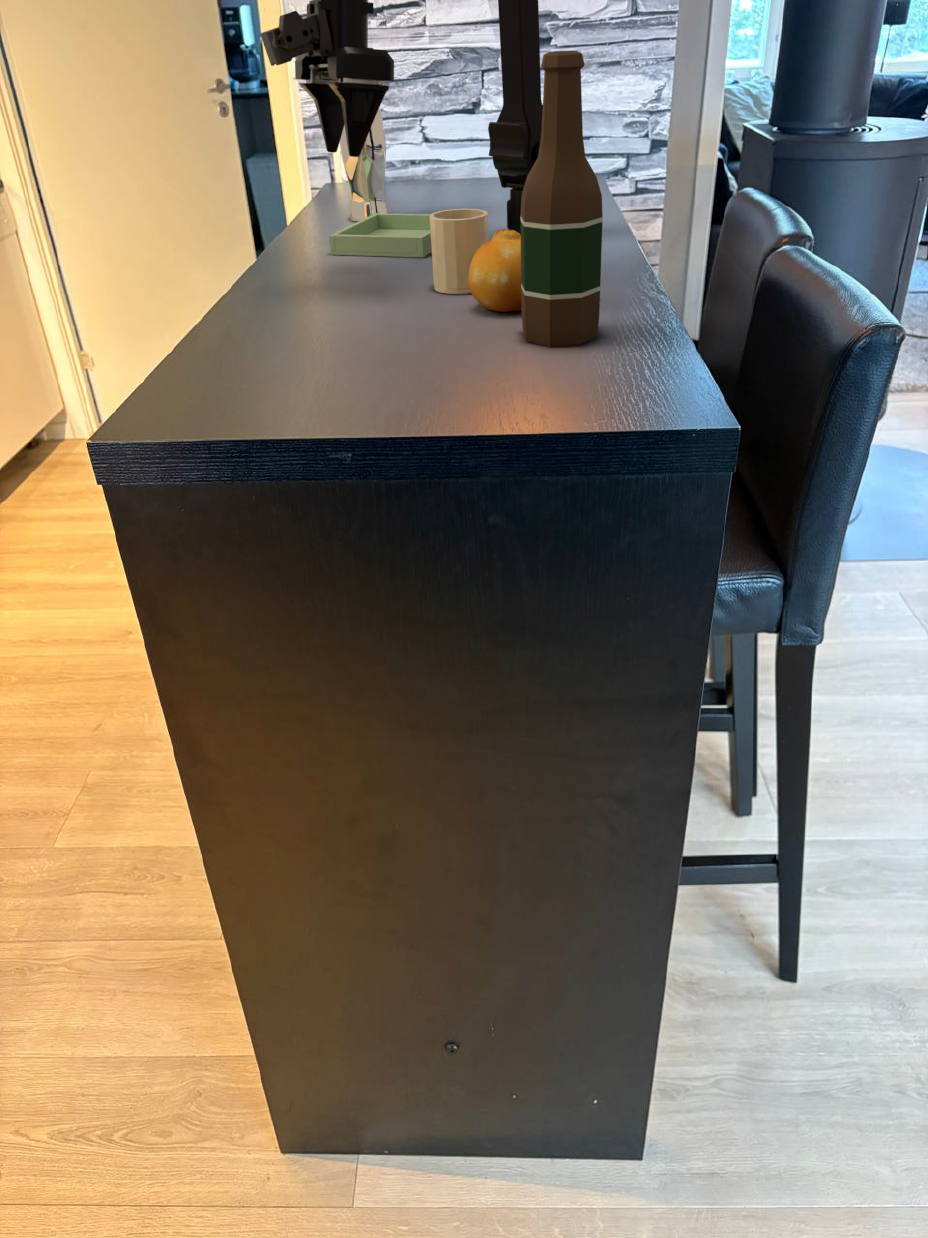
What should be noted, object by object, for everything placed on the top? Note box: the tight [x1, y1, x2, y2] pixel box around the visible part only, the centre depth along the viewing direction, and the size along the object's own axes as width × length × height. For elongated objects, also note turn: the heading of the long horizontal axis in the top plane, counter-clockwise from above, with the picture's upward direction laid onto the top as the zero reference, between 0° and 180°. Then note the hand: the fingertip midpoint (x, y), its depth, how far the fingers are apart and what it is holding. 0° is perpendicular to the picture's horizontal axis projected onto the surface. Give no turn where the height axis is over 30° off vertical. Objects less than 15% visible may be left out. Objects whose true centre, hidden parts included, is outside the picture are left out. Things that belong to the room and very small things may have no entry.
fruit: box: [468, 227, 522, 313], centre depth 99 cm, size 8×8×8 cm
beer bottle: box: [520, 50, 604, 348], centre depth 85 cm, size 8×8×24 cm
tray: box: [328, 213, 432, 259], centre depth 131 cm, size 14×16×2 cm
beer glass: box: [339, 109, 390, 223], centre depth 144 cm, size 7×7×15 cm
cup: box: [429, 208, 490, 295], centre depth 107 cm, size 7×7×8 cm
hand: (342, 154), depth 106 cm, fingers open, 9 cm apart
